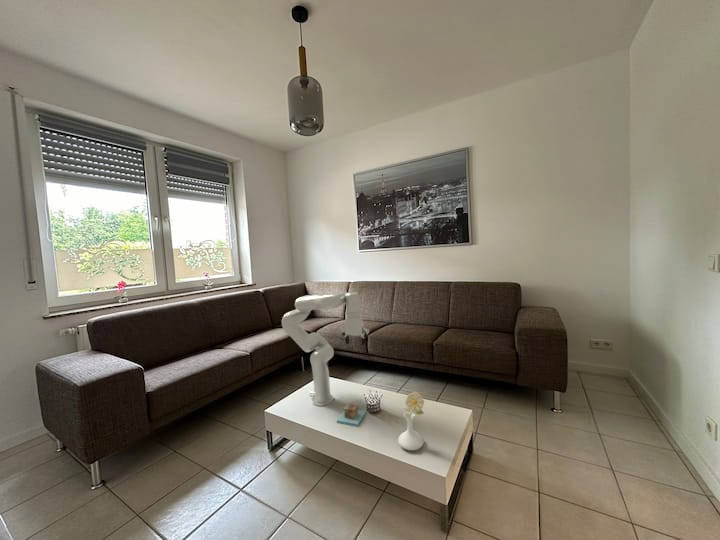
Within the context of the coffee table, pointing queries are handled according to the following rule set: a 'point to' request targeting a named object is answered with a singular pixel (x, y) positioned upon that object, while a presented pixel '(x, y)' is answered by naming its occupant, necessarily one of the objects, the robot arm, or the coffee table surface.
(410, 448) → the flower in vase
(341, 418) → the teal board
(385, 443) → the coffee table surface
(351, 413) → the walnut block
